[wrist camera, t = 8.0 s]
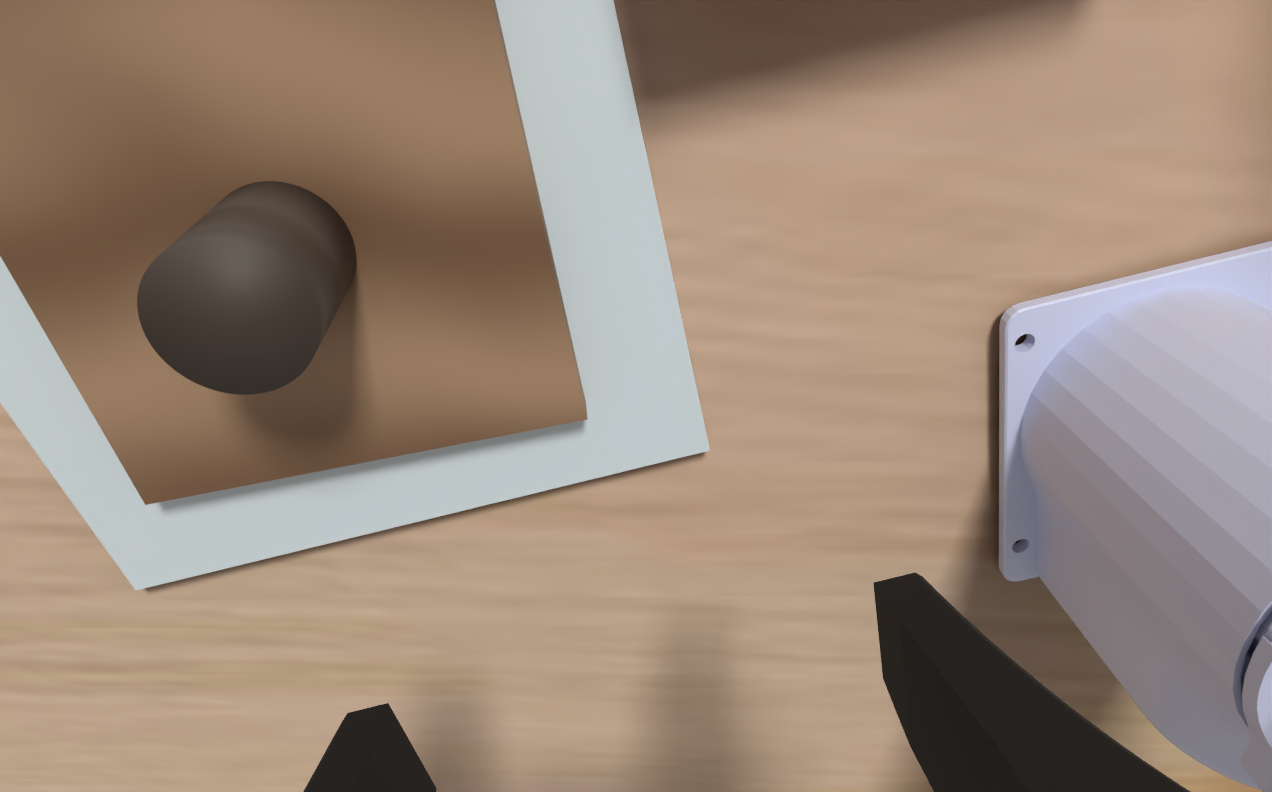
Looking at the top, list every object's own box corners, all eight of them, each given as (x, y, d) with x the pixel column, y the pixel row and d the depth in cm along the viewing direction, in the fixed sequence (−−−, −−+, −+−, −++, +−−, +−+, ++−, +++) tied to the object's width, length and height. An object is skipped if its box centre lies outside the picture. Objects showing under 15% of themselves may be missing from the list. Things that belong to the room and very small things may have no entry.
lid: (585, 403, 21) (596, 506, 17) (158, 485, 21) (76, 607, 17) (473, -94, 16) (453, -98, 12) (-108, 16, 16) (-311, 46, 12)
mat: (706, 440, 23) (710, 450, 22) (143, 578, 23) (135, 590, 23) (547, -299, 15) (547, -305, 14) (-316, -70, 15) (-340, -70, 15)
